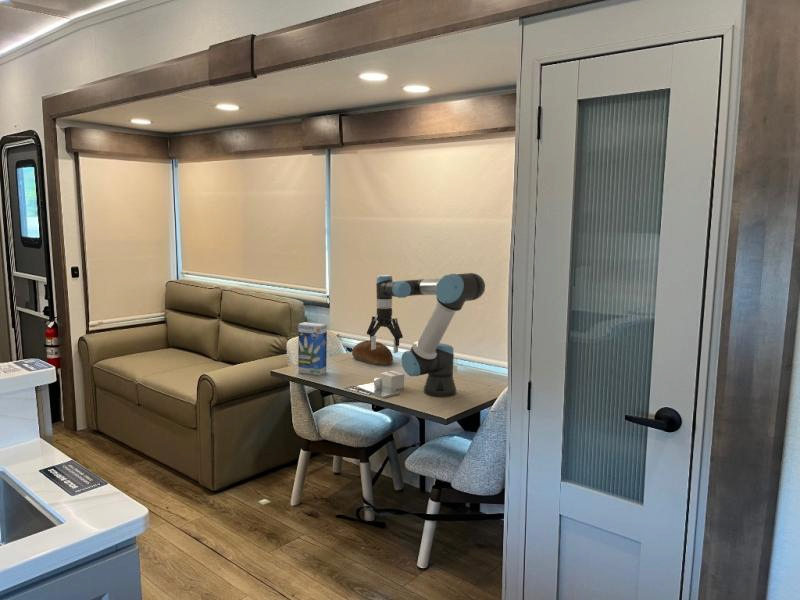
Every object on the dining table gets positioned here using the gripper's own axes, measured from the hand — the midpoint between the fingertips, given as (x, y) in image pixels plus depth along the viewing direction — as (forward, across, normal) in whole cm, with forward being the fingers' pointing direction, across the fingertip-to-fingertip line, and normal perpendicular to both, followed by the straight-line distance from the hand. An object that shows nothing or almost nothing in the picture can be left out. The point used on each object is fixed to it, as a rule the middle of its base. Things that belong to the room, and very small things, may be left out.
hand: (384, 351), depth 291 cm
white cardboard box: (+17, -5, +1) cm, 18 cm away
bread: (+16, +36, -35) cm, 52 cm away
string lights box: (+16, +43, +6) cm, 46 cm away
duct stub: (+17, -4, +10) cm, 20 cm away
